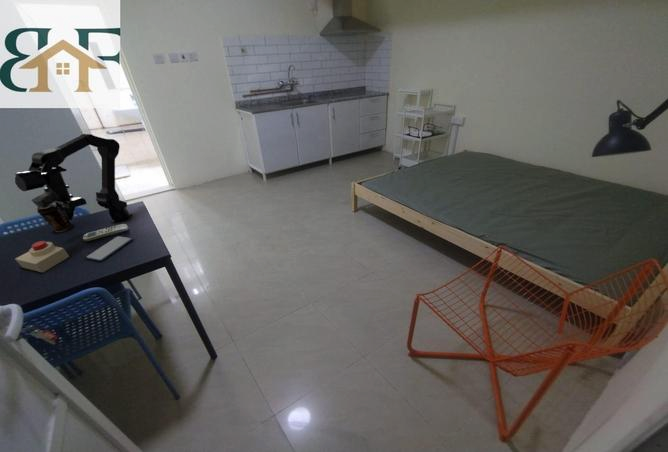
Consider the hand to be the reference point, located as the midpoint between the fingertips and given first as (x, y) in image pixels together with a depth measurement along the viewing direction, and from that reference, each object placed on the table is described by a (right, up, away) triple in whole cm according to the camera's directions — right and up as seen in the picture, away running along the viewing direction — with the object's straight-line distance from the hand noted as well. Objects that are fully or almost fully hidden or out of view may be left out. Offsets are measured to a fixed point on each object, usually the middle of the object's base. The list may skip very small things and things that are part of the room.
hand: (70, 219), depth 119 cm
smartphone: (+18, -13, 0) cm, 22 cm away
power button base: (-4, -17, -6) cm, 19 cm away
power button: (-4, -11, -8) cm, 15 cm away
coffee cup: (-18, -4, +15) cm, 24 cm away
